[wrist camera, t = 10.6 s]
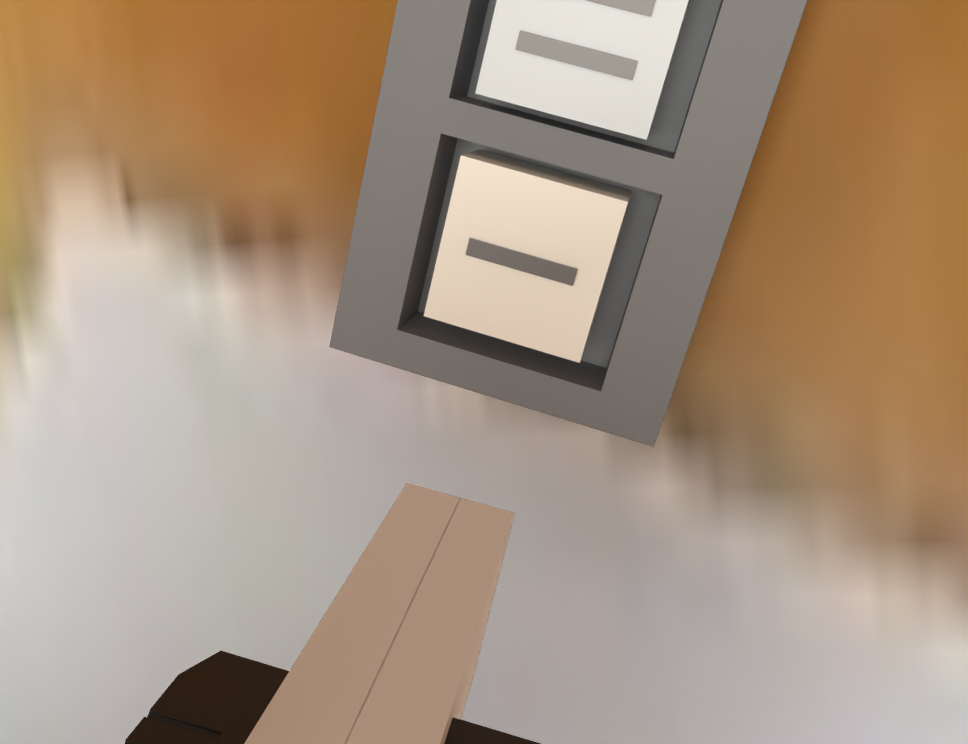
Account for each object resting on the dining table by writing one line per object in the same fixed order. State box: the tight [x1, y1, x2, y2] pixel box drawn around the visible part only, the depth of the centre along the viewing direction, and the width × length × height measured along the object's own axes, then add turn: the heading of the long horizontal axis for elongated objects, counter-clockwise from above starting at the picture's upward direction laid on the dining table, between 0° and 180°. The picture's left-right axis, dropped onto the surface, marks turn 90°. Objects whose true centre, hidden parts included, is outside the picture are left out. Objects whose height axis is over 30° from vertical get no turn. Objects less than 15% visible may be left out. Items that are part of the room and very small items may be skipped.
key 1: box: [424, 149, 632, 363], centre depth 27 cm, size 5×5×3 cm
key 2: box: [475, 0, 690, 140], centre depth 25 cm, size 5×5×3 cm
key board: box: [329, 0, 807, 447], centre depth 26 cm, size 11×22×4 cm, turn 166°
